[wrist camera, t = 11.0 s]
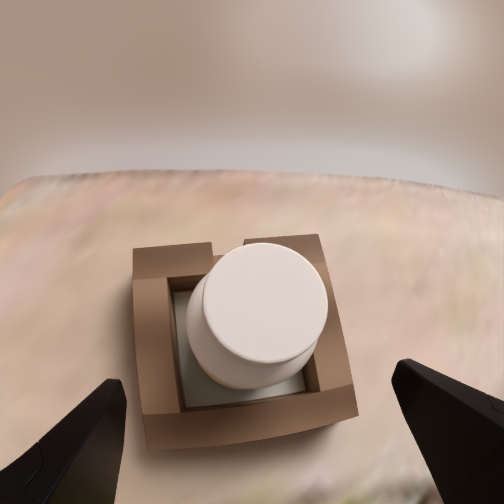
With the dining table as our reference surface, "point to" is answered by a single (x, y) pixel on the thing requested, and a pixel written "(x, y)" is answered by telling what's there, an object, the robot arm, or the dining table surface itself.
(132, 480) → the dining table surface
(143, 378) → the pocket block
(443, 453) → the robot arm
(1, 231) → the dining table surface
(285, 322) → the supplement bottle
